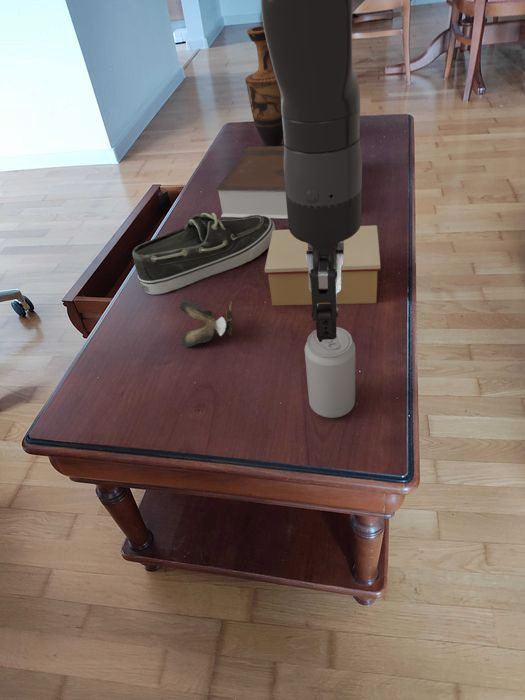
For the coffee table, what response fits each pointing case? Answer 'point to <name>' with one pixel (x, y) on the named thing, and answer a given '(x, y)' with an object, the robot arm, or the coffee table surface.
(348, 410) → the beverage can
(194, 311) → the eagle figurine
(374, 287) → the lidded cardboard box
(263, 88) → the vase
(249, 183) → the book
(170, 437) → the coffee table surface
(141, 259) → the boat shoe
